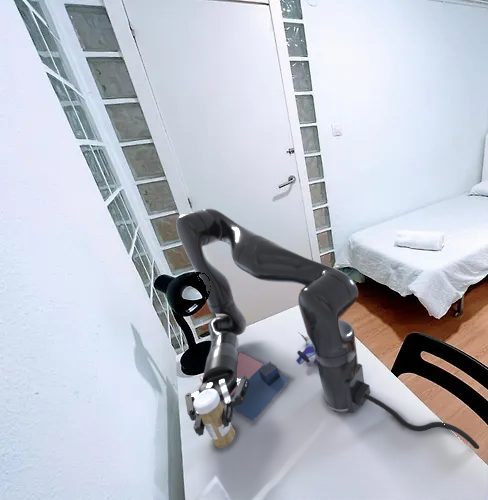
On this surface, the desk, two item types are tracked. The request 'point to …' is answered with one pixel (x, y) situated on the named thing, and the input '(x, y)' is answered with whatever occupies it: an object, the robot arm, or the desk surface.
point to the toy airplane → (306, 351)
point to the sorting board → (256, 387)
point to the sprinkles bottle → (213, 417)
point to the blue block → (269, 373)
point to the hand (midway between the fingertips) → (212, 428)
